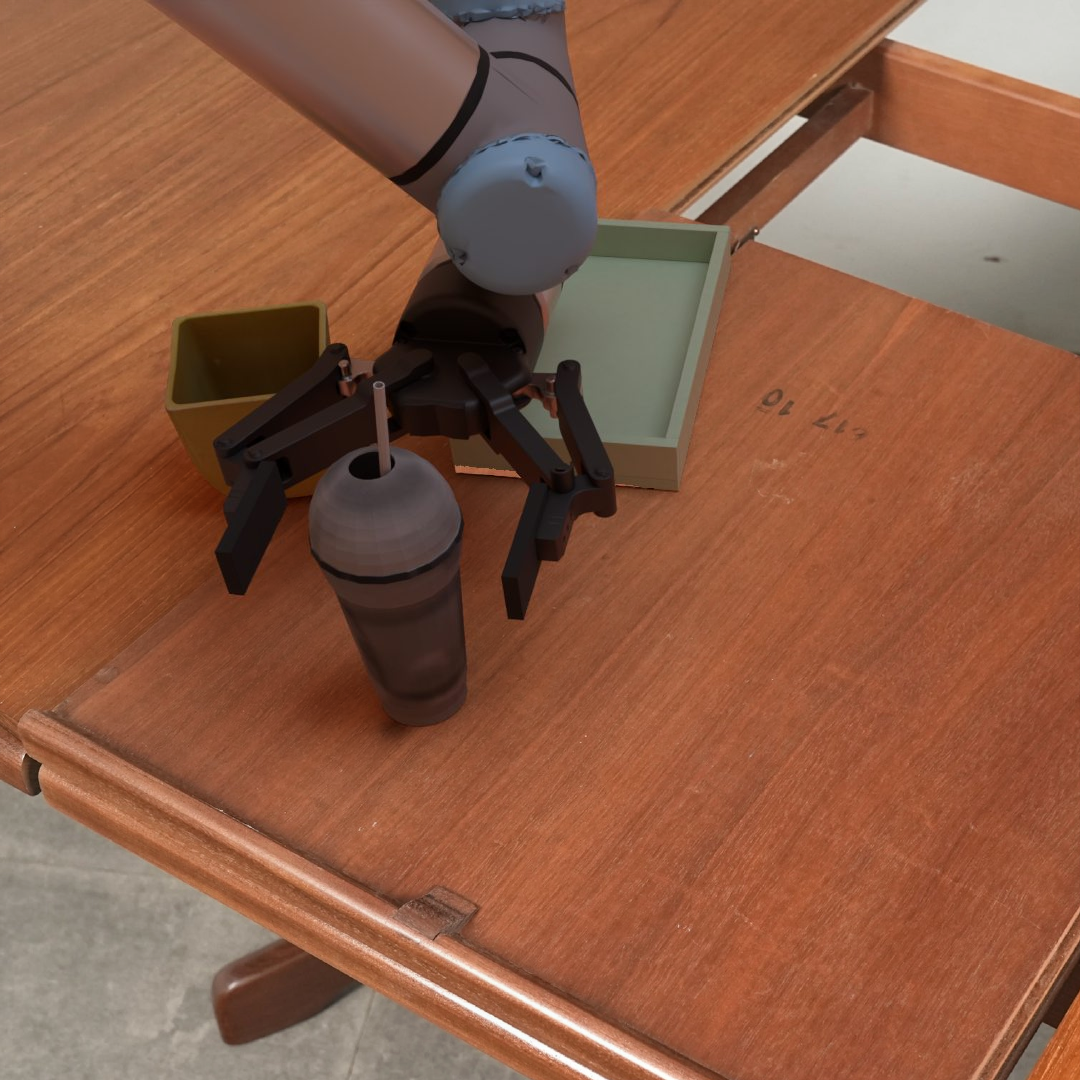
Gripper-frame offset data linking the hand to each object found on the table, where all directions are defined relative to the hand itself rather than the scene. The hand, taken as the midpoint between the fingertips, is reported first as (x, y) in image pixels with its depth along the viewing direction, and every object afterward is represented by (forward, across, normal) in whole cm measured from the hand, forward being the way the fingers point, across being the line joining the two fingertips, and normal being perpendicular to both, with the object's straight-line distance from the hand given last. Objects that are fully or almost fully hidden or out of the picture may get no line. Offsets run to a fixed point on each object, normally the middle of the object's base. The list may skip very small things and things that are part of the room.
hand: (369, 587), depth 71 cm
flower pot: (-19, +13, -11) cm, 26 cm away
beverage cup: (-3, 0, -11) cm, 12 cm away
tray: (-33, -4, -11) cm, 35 cm away
